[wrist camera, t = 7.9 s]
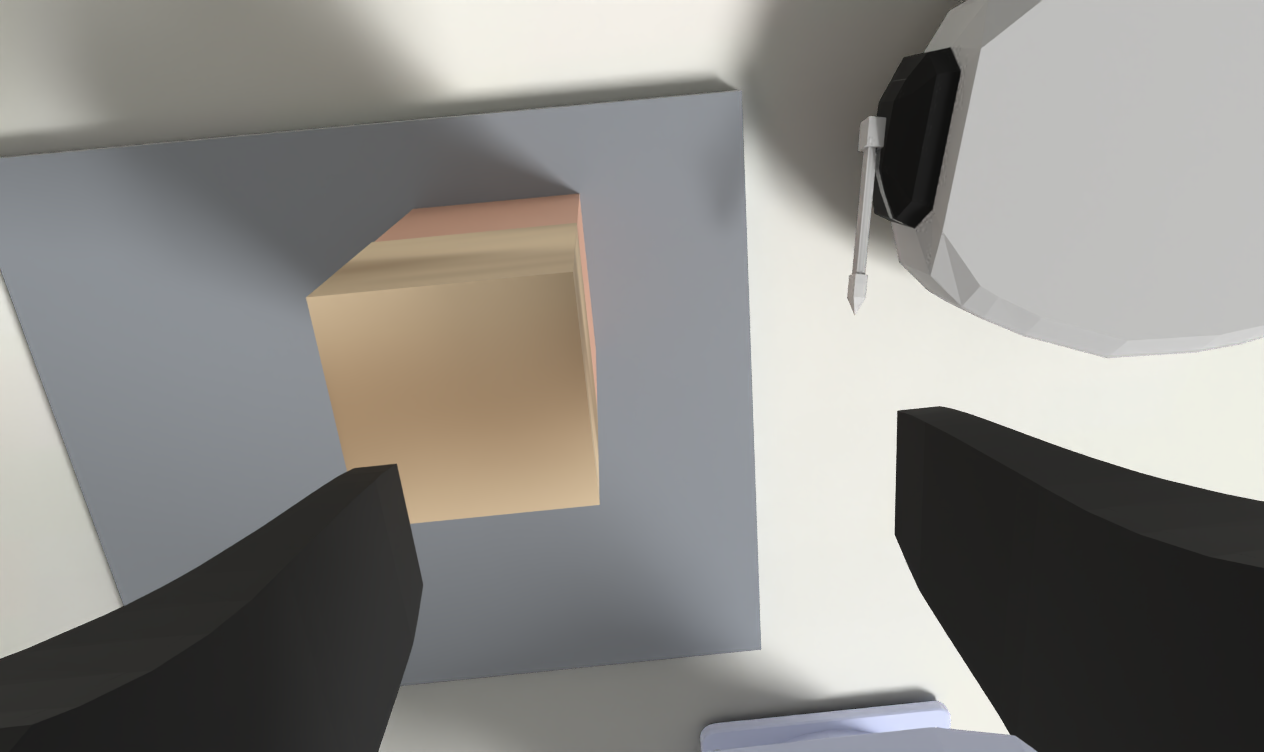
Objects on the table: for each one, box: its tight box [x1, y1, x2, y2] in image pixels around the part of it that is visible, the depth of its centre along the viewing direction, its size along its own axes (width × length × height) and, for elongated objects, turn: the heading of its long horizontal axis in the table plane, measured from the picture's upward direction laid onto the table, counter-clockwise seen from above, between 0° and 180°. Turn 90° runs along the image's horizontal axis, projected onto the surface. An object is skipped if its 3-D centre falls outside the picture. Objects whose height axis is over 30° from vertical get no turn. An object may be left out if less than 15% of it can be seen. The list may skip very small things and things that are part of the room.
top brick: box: [306, 223, 600, 524], centre depth 15 cm, size 4×4×4 cm
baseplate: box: [0, 90, 761, 686], centre depth 22 cm, size 16×18×1 cm
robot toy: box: [847, 0, 1264, 358], centre depth 18 cm, size 12×4×15 cm
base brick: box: [375, 194, 597, 402], centre depth 19 cm, size 4×4×4 cm
